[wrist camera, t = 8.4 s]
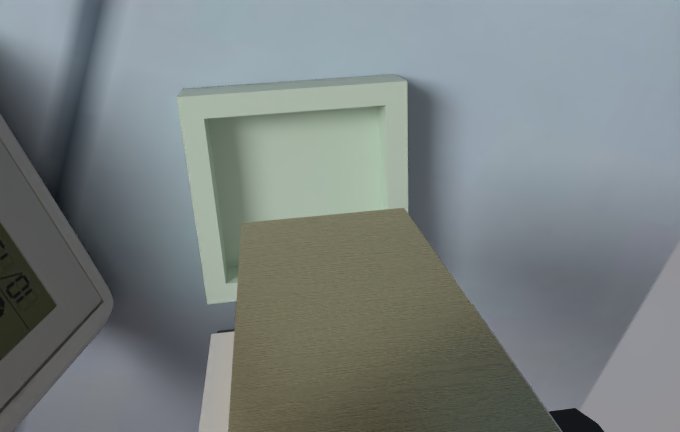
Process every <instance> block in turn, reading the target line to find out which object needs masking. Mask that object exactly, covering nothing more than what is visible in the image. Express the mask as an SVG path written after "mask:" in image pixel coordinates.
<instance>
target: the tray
mask: <svg viewBox="0 0 680 432" xmlns="http://www.w3.org/2000/svg"><path fill="white" fill-rule="evenodd" d="M177 102H178V109H179V116H180V122H181V129H182V136H183V143H184V150H185V156H186V163H187V170H188V177H189V183H190V190H191V197H192V204H193V210H194V217H195V224H196V231H197V237H198V244H199V251H200V258H201V264H202V271H203V278H204V285H205V291H206V298H207V304H216V303H225V302H234V301H236V300H237V284H238V268H239V253H240V237H241V223H246V222H256V221H267V220H278V219H289V218H299V217H310V216H321V215H331V214H342V213H353V212H364V211H374V210H385V209H396V208H405V210H406V211H407V213H408V112H407V81H406V80H405V79H403V78H401V77H399V76H397V75H395V74H392V75H377V76H363V77H348V78H334V79H319V80H304V81H290V82H275V83H261V84H246V85H231V86H217V87H202V88H188V89H183V90H182V91H181V92H180V94H179V95H178V96H177Z"/></svg>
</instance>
